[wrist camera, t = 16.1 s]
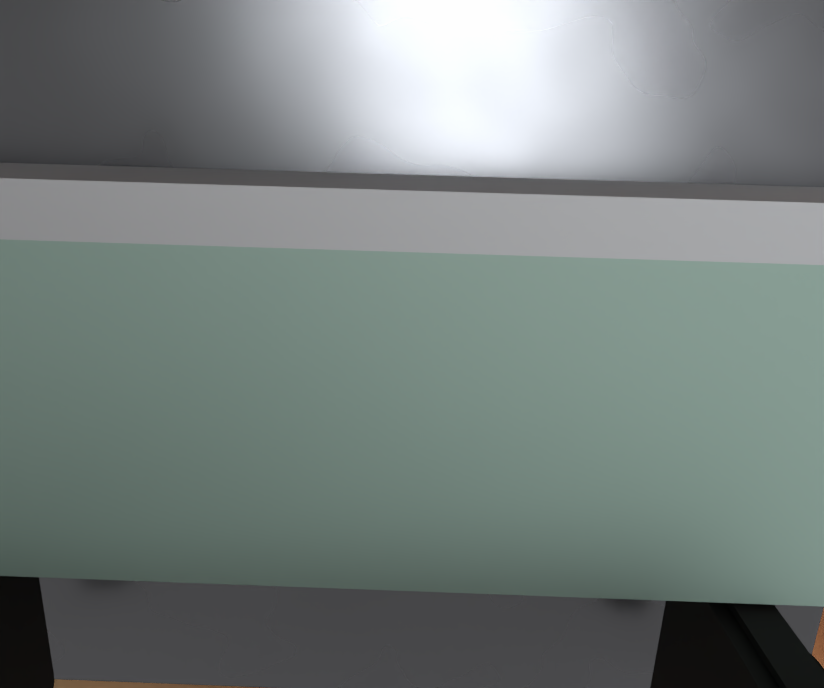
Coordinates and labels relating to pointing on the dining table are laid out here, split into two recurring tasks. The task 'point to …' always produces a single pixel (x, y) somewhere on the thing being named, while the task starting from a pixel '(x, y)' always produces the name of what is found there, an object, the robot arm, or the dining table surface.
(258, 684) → the vise base
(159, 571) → the block
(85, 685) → the dining table surface
